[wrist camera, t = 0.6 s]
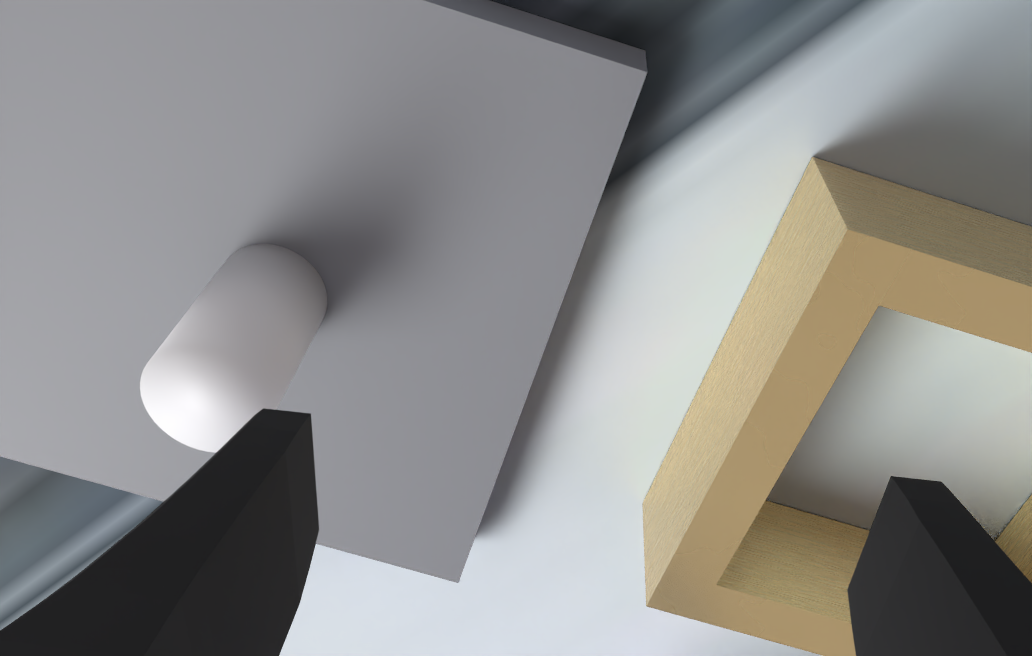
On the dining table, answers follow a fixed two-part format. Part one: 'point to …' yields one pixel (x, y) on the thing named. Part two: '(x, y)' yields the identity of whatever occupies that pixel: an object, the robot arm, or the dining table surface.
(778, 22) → the dining table surface
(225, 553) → the robot arm
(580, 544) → the dining table surface
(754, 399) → the gold square frame
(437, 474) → the grey piece
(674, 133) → the dining table surface
